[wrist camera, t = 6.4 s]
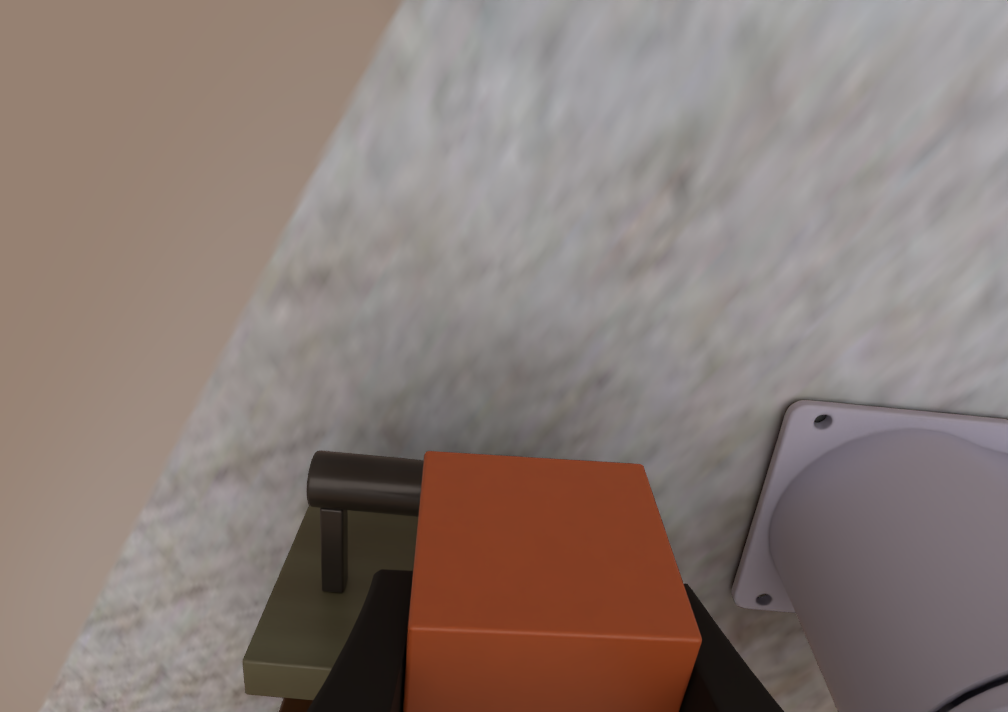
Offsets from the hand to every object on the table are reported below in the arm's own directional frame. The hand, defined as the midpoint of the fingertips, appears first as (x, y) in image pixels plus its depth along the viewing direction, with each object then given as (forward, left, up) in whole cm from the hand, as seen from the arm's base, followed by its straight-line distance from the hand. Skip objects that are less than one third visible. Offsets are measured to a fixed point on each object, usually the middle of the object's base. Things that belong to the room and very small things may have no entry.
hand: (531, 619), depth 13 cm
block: (0, 0, -2) cm, 2 cm away
